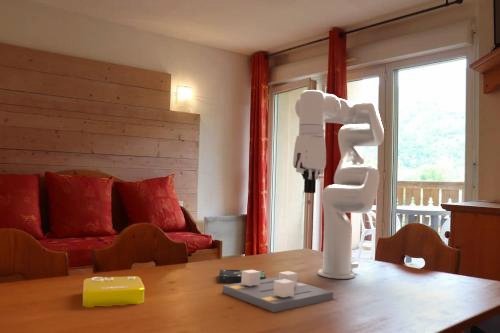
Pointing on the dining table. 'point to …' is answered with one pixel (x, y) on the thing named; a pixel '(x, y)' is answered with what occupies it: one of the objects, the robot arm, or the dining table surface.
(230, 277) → the disk drive
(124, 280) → the element tile
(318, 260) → the dining table surface
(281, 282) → the tab
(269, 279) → the switch board
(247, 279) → the tab
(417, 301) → the dining table surface
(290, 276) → the tab
